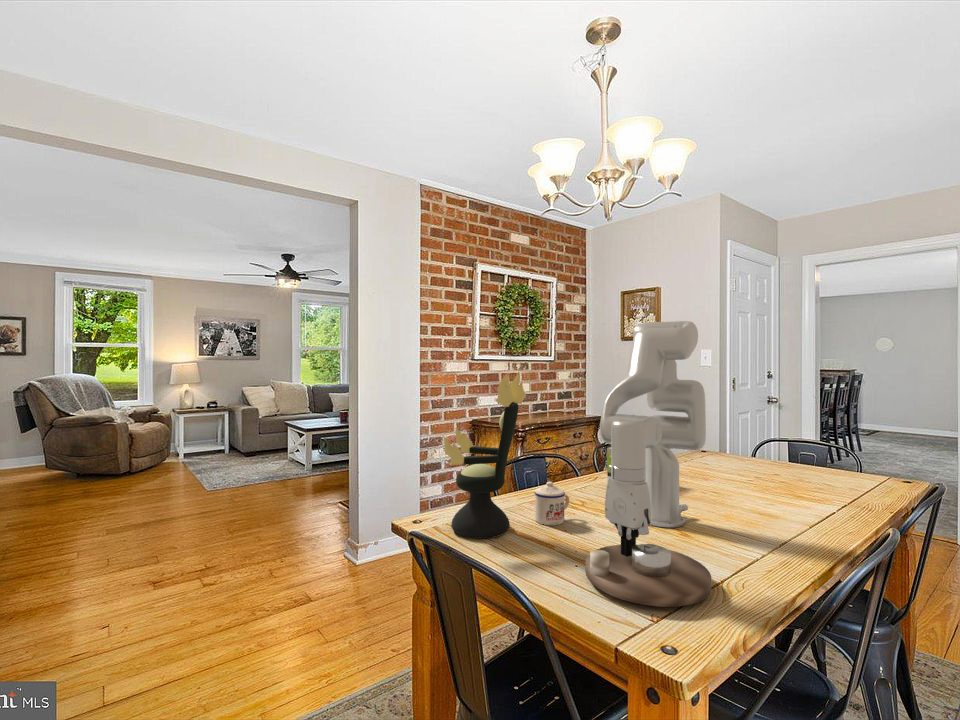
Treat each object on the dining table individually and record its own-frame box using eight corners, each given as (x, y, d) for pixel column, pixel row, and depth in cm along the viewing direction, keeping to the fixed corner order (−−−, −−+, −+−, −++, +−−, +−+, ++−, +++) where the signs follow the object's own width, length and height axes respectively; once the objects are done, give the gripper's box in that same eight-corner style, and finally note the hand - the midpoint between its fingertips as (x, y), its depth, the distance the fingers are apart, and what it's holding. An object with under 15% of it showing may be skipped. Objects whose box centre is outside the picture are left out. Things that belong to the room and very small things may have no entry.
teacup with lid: (547, 528, 141) (547, 488, 141) (528, 519, 149) (528, 481, 149) (578, 520, 147) (578, 482, 147) (558, 512, 155) (558, 475, 155)
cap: (647, 558, 112) (647, 537, 112) (678, 571, 105) (678, 548, 105) (624, 567, 107) (624, 544, 107) (655, 581, 101) (655, 557, 101)
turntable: (664, 548, 123) (664, 524, 123) (740, 598, 97) (740, 568, 97) (567, 557, 117) (567, 532, 117) (621, 613, 92) (620, 581, 92)
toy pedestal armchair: (454, 517, 151) (453, 371, 151) (526, 519, 149) (526, 371, 148) (443, 540, 132) (443, 373, 132) (526, 543, 130) (525, 373, 129)
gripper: (592, 469, 116) (592, 546, 116) (643, 483, 103) (643, 570, 103) (615, 465, 120) (615, 540, 120) (666, 478, 107) (666, 562, 107)
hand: (628, 554), depth 111 cm, fingers closed
